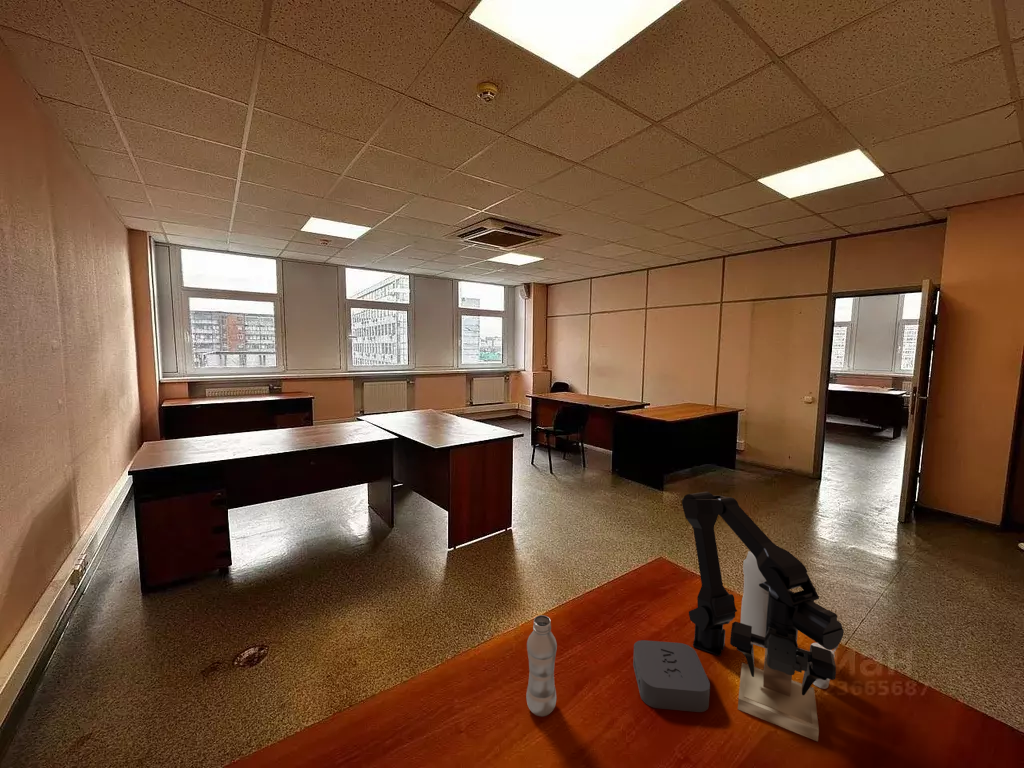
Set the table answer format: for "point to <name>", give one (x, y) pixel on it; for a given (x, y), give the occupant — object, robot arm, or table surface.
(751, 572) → the grey ridged slab
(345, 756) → the table surface
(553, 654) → the plastic bottle
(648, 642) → the streaming box
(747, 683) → the base
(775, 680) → the walnut block
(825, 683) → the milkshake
